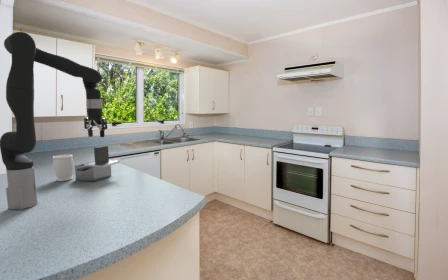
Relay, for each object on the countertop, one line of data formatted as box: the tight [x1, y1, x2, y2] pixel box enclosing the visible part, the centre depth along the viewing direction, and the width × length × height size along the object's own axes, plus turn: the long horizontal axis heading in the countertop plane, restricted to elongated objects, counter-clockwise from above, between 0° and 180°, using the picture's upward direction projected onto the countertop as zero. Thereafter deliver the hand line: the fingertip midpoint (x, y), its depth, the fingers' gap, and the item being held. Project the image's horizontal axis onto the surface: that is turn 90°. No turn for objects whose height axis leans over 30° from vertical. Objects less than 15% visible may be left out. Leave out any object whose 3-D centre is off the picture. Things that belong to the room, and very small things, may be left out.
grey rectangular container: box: [74, 160, 112, 183], centre depth 150 cm, size 20×14×9 cm
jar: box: [52, 153, 75, 182], centre depth 146 cm, size 11×10×15 cm
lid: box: [83, 145, 120, 167], centre depth 146 cm, size 14×14×11 cm
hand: (96, 137), depth 133 cm, fingers open, 8 cm apart
